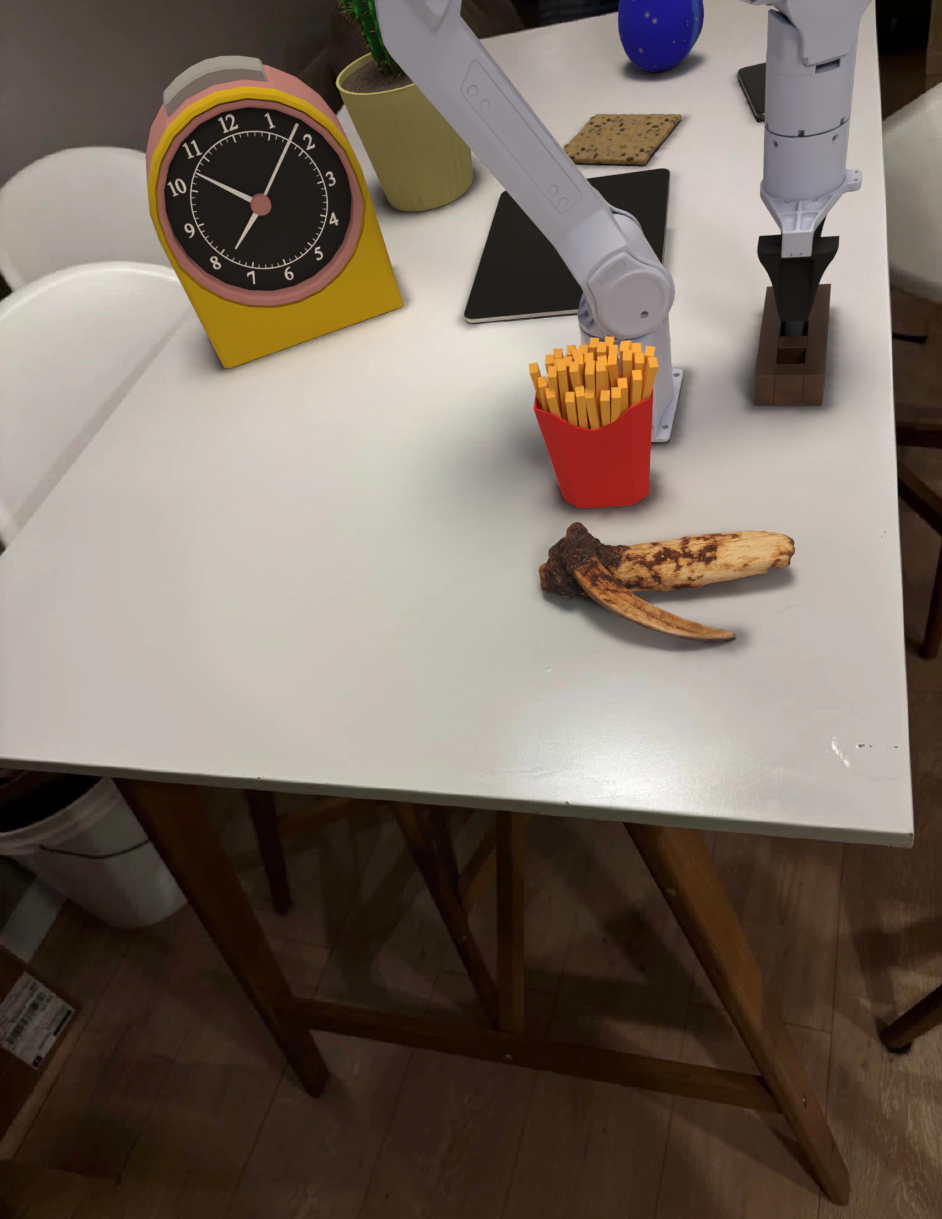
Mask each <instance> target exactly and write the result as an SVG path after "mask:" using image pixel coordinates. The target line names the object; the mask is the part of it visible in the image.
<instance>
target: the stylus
mask: <svg viewBox="0 0 942 1219" xmlns="http://www.w3.org/2000/svg"><path fill="white" fill-rule="evenodd" d="M802 334H803V321H789V322H786V326H785V336H802Z"/></svg>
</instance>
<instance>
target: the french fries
mask: <svg viewBox="0 0 942 1219" xmlns="http://www.w3.org/2000/svg"><path fill="white" fill-rule="evenodd" d="M552 350H553V351H552V353H550V354H545V356H544V357H545V359H544V366H545V371H546V375H544V376H542V374H541V370H540V366H539V363H538V361H536V362H535V361H534V362H531V363H530V362H529V363H528V370H529V377H530V379H531V382H532V384H533V388H534V390H535V394H534V401H533V402H534V403H533V411H534V412H533V413H534V415H535V418H536V420H537V424H538V427H539V430H540V433H541V436H542V439H543V442H544V445H545V447H546V450H547V454H548V457H549V460H550V462H551V466H552V469H553V471H554V474H555V477H556V481H557V482H558V483H557V484H558V486H559V489H560V492H561V495H562V499H563V501H564V502H566V503H567V504H569V505H571V506H573V507H575V508H577V509H595V508H596V509H597V508H611V507H622V506H623V507H624V506H632V505H635V504H637V503H638V502H640V501H641V500H643V499H645V498H646V497H648V496H649V495H650V494H649V493H650V477H651V476H650V474H651V452H652V442H651V434H652V413H653V385H654V381H655V378H656V374H657V370H658V362H657V357H654V352H655V347H653V346H647V345H646V350H645V355H644V352H642V353H641V343H632V347H631V340H629V341H621V344H620V361H621V374H620V371H619V364H618V345H614V337H607V336H606V337H605V342H599V338H590V344H588V345H582V344H579V348H577V345H576V344H572V345H571V344H570V345H566V351H565V352H566V353H565V355H564V351H563V348H562V347H561V348H553V349H552Z"/></svg>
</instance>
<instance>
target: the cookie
mask: <svg viewBox="0 0 942 1219" xmlns="http://www.w3.org/2000/svg"><path fill="white" fill-rule="evenodd" d="M681 120H682V114H679V113H678V114H675V113H669V114H668V113H667V114H665V113H658V114H657V113H649V114H647V113H646V114H645V113H643V114H641V113H640V114H635V113H629V114H626V113H620V114H617V113H610V114H608V113H601V114H600V113H596V114H595V115H593V116H591V117H590V118H589V120H588V121H587V122H586V123H585V124H584V125H583V127H582V128H581V129H580V131H579V132H577V134H576V135H575V136H574V137H573V138H572V139H571V140H569V142H568V143H566V144H565V145H563V150H564V151H565V152H566V153H567V155H568V156H569V157H570V159H571V160H572V161H573V163H574V164H586V165H587V164H588V165H589V164H596V165H608V164H610V165H612V164H613V165H634V166H636V165H637V166H638V165H639V166H641V165H646V164H647V163H648V161H649V160H650V158H651V156H652V155H653V154H654V152H655V150H657V149H658V147H660V145H661V144H662V143H663V142H664V141H665V140H666V138H667V137H668V136H670V133H671V131H672V130H673V129H674V128H675V126H676V125H677V124H678V123H679V121H681Z"/></svg>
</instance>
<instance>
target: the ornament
mask: <svg viewBox="0 0 942 1219" xmlns="http://www.w3.org/2000/svg"><path fill="white" fill-rule="evenodd" d="M704 18H705V7H704V0H619V2H618V8H617V28H618V34H619V40H620V43H621V46H622V48H623V51H624V53H625V55H626V56H627V58H628V59H629V61H630V62H631V63H632V64H634V65H635V66H636V67H637V68H638V69H640V70H642V71H646V72H650V73H651V72H653V73H657V72H663V71H666V70H669V69H671V68H673V67H675V66H677V65H679V63H681V62H683V60H684V59H686V57H687V56H688V55H689V54H690V53H691V52H692V50H693V48H694V46H695V45H696V43H697V41H698V39H699V37H700V36H701V32H702V30H703V27H704Z"/></svg>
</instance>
